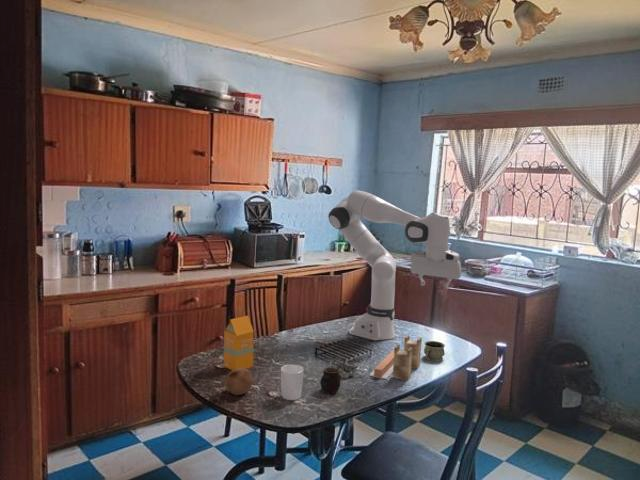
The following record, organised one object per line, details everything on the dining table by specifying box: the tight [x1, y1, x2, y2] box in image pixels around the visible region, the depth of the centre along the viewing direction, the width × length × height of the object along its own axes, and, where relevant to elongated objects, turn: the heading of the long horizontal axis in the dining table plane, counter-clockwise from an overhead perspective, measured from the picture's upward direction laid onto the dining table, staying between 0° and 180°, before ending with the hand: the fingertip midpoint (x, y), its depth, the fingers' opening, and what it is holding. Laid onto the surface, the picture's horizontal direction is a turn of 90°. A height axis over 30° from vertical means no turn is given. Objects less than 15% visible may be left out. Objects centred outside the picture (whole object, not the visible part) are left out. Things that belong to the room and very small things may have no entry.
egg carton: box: [329, 360, 358, 379], centre depth 200 cm, size 11×8×4 cm
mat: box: [369, 366, 393, 381], centre depth 208 cm, size 7×24×1 cm, turn 154°
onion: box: [225, 368, 254, 396], centre depth 178 cm, size 10×9×10 cm
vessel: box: [423, 340, 446, 362], centre depth 220 cm, size 12×9×6 cm
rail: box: [373, 349, 394, 378], centre depth 208 cm, size 3×24×3 cm, turn 154°
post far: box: [403, 334, 423, 370], centre depth 210 cm, size 6×4×12 cm, turn 65°
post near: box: [392, 344, 413, 382], centre depth 197 cm, size 6×4×12 cm, turn 64°
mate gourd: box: [319, 364, 342, 394], centre depth 183 cm, size 7×8×10 cm
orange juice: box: [223, 315, 255, 371], centre depth 202 cm, size 8×9×20 cm
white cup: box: [280, 364, 304, 401], centre depth 177 cm, size 8×8×10 cm
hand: (434, 286), depth 208 cm, fingers open, 8 cm apart
